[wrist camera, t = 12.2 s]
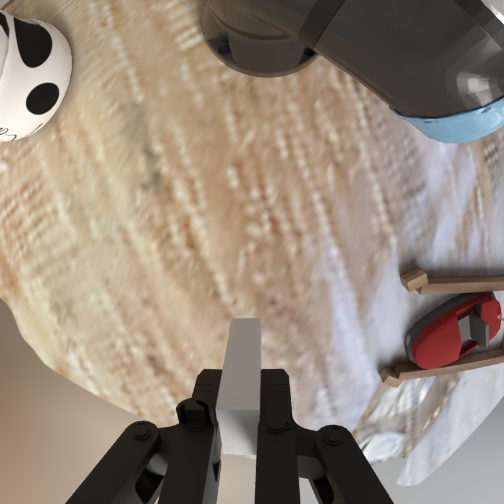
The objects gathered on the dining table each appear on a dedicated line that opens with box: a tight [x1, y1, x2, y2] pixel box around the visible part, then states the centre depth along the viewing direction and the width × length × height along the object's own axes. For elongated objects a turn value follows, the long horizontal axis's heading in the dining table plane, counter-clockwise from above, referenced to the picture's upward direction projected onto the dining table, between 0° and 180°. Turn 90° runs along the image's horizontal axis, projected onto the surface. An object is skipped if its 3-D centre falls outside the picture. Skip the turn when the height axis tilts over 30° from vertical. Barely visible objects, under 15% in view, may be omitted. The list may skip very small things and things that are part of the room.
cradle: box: [379, 267, 504, 388], centre depth 42 cm, size 19×27×2 cm
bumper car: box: [405, 291, 504, 369], centre depth 38 cm, size 10×20×10 cm, turn 114°
